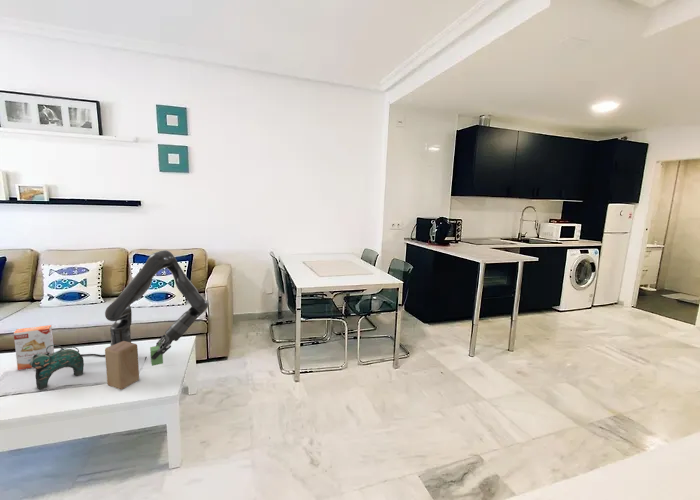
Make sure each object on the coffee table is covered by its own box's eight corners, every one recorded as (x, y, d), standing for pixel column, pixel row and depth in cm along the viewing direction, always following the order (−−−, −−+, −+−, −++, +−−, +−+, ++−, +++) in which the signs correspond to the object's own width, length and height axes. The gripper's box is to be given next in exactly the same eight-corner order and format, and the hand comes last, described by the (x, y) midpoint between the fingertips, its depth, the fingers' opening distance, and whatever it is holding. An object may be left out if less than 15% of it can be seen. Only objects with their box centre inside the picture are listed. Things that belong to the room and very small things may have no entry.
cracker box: (17, 371, 171) (12, 333, 168) (20, 365, 176) (16, 328, 173) (53, 364, 179) (49, 328, 176) (55, 359, 184) (51, 324, 181)
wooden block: (140, 380, 169) (138, 343, 166) (121, 390, 159) (118, 352, 156) (126, 375, 172) (123, 339, 169) (106, 385, 163) (103, 348, 159)
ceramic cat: (35, 392, 155) (31, 353, 151) (30, 388, 158) (26, 349, 155) (86, 374, 171) (83, 338, 168) (80, 370, 175) (77, 335, 171)
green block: (150, 361, 170) (150, 347, 169) (162, 359, 173) (161, 345, 172) (151, 365, 166) (150, 351, 165) (163, 363, 169) (162, 348, 168)
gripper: (169, 321, 177) (144, 347, 172) (173, 330, 165) (146, 358, 160) (181, 328, 181) (157, 354, 176) (185, 338, 169) (160, 366, 164)
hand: (152, 356), depth 168 cm, fingers closed on green block, 5 cm apart
